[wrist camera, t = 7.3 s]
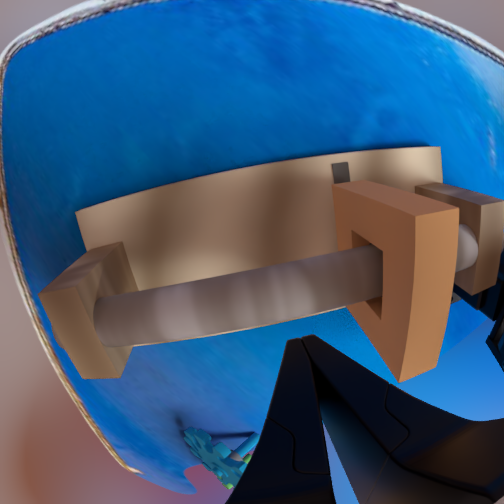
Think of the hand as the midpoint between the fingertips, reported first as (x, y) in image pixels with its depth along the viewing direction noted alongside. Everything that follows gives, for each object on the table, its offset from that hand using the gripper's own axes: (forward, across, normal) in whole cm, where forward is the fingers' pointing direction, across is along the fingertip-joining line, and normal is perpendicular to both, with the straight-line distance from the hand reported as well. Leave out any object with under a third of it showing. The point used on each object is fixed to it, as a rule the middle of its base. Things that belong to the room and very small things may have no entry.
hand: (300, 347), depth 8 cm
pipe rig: (+10, -1, 0) cm, 10 cm away
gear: (+10, +7, +19) cm, 23 cm away
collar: (+8, -5, 0) cm, 9 cm away
